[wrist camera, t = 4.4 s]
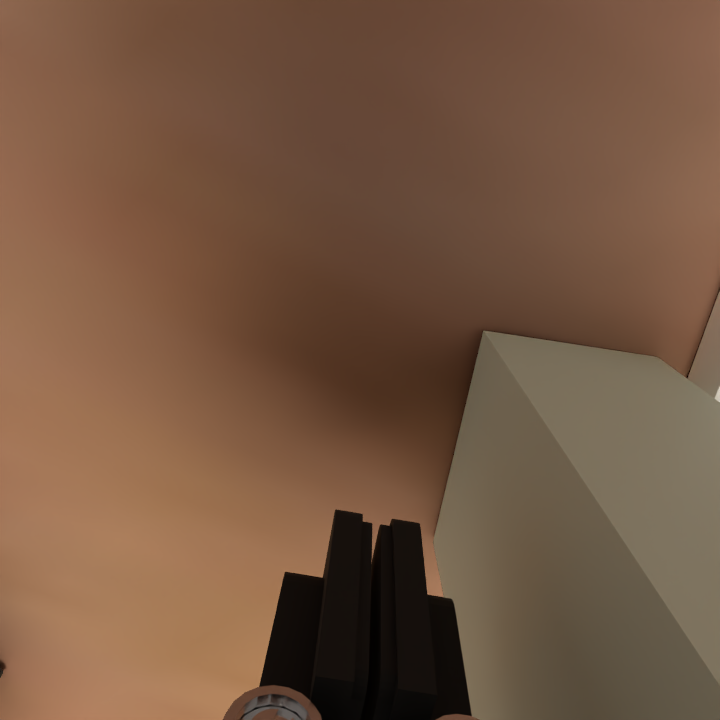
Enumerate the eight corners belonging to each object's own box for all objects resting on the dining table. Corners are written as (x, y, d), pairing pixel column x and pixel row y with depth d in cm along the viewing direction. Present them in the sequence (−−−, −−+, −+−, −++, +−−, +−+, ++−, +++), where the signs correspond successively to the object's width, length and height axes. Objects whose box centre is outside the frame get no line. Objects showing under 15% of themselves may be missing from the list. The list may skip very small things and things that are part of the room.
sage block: (483, 330, 17) (739, 716, 6) (657, 356, 17) (1223, 771, 6) (432, 541, 19) (544, 1108, 8) (586, 561, 20) (899, 1132, 8)
